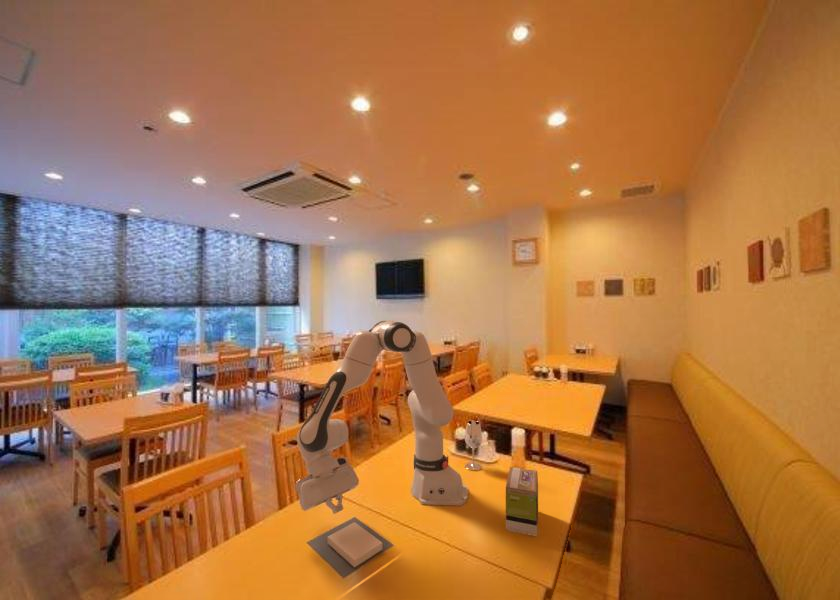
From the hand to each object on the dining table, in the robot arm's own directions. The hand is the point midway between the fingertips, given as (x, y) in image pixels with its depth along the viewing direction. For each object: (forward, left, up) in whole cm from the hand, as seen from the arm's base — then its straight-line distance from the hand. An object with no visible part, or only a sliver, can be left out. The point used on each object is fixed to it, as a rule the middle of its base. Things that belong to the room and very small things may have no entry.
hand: (338, 511), depth 112 cm
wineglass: (-37, -58, -8) cm, 69 cm away
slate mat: (-5, +3, -8) cm, 10 cm away
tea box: (-57, -23, -8) cm, 62 cm away
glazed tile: (-1, +1, -6) cm, 6 cm away
